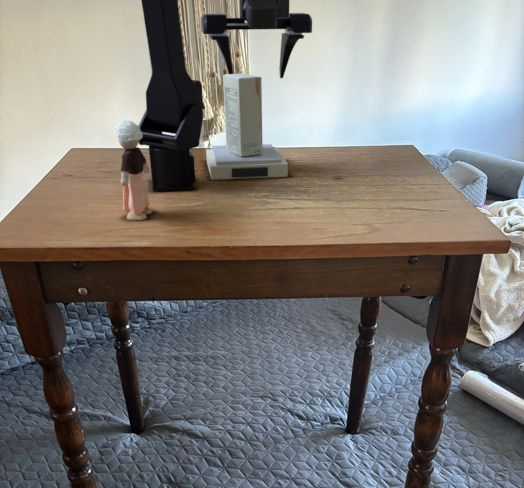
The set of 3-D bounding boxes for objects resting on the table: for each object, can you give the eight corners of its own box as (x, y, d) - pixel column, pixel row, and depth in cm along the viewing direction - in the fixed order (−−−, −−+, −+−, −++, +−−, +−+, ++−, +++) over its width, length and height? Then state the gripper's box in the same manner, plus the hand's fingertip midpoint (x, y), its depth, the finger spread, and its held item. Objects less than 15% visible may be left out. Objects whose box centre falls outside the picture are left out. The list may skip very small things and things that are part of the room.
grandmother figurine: (130, 206, 82) (119, 114, 75) (156, 207, 82) (147, 115, 75) (118, 225, 76) (103, 127, 69) (146, 226, 76) (134, 127, 69)
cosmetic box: (263, 154, 96) (263, 76, 90) (241, 158, 95) (239, 78, 88) (246, 146, 101) (245, 72, 94) (224, 149, 99) (222, 73, 93)
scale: (211, 180, 93) (210, 163, 92) (206, 161, 104) (205, 145, 102) (288, 177, 95) (288, 160, 93) (275, 158, 105) (276, 143, 104)
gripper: (203, -26, 85) (209, 87, 93) (322, -26, 87) (317, 84, 96) (198, -25, 94) (203, 77, 103) (306, -25, 97) (302, 75, 105)
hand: (256, 78), depth 101 cm, fingers open, 9 cm apart
